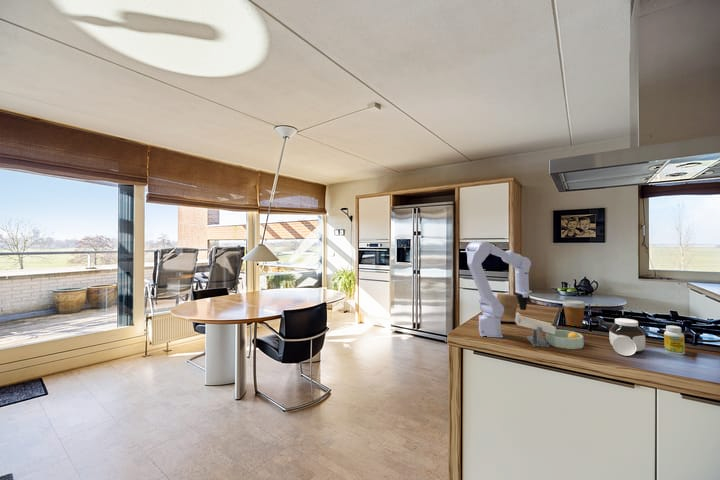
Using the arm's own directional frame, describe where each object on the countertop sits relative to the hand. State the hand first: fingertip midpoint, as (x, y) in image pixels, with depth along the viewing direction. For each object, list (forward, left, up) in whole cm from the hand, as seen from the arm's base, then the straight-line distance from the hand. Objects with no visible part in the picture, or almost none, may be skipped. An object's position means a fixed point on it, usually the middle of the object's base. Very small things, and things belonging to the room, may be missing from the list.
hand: (522, 309), depth 148 cm
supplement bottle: (+47, -20, -10) cm, 52 cm away
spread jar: (+31, -23, -10) cm, 40 cm away
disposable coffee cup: (+25, +12, -10) cm, 30 cm away
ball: (+15, -17, -7) cm, 24 cm away
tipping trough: (+1, -13, -4) cm, 14 cm away
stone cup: (-6, +16, -10) cm, 20 cm away
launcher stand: (+2, -17, -10) cm, 20 cm away
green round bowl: (+12, -17, -10) cm, 23 cm away
